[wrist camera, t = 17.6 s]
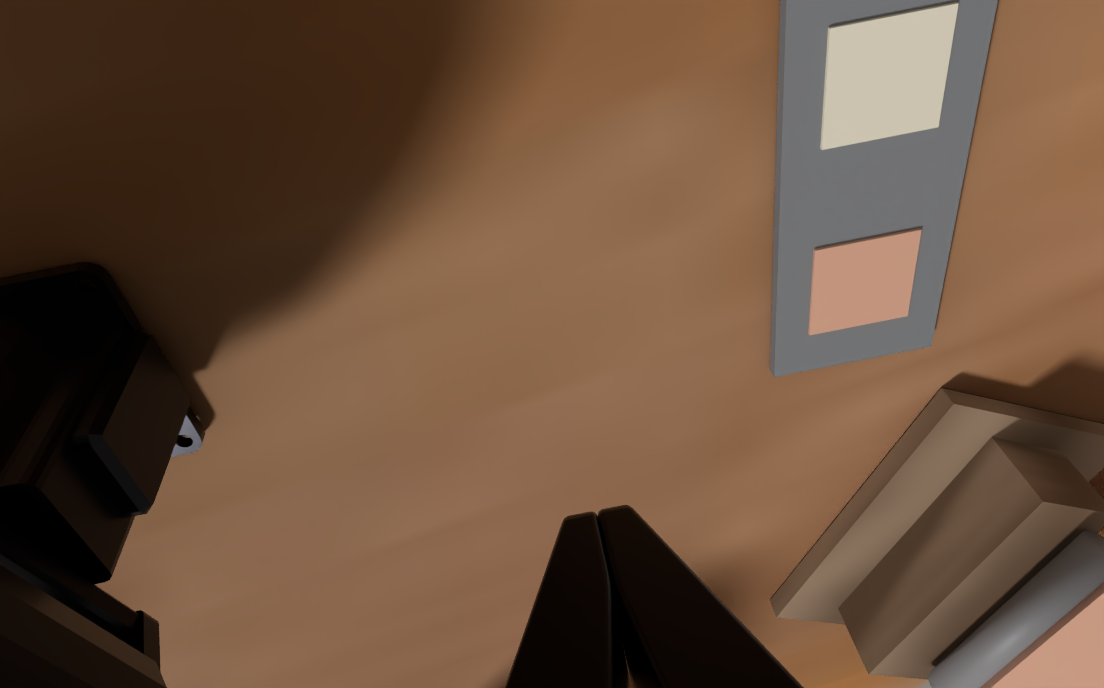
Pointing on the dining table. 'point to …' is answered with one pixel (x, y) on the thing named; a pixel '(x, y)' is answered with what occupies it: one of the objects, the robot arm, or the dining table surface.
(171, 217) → the dining table surface
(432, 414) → the dining table surface
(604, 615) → the robot arm
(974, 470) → the plinth
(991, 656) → the number flap
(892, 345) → the plate
